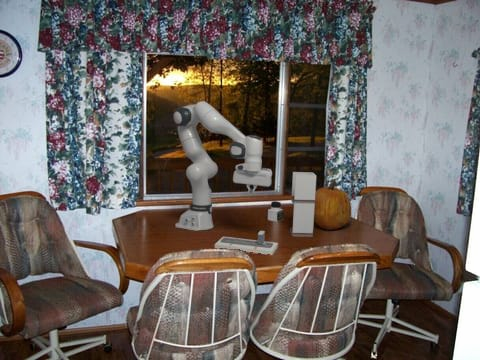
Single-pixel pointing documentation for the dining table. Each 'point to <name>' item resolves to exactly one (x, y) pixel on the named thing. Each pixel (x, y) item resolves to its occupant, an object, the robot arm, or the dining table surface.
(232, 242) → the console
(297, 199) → the light grey rectangular tower
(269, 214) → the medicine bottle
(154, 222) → the dining table surface
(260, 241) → the fader tab
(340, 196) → the pumpkin
